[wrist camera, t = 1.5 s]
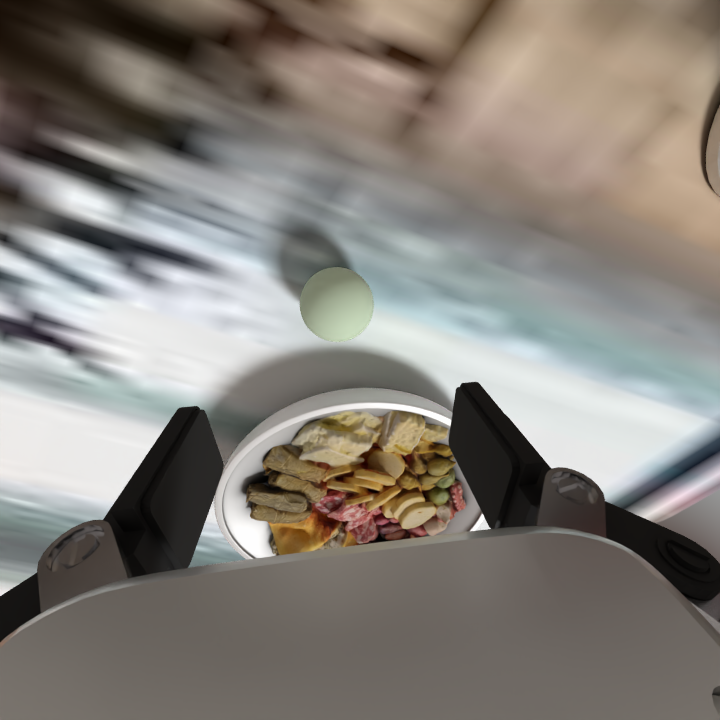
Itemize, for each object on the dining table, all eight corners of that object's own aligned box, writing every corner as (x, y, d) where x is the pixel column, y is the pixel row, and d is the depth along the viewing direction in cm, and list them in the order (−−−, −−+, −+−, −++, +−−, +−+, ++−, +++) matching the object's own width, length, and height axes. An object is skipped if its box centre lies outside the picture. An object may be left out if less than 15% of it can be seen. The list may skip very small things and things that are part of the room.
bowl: (169, 467, 34) (129, 538, 27) (396, 314, 27) (419, 355, 20) (333, 569, 47) (334, 634, 40) (511, 483, 41) (548, 542, 34)
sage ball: (368, 258, 24) (378, 275, 19) (369, 323, 27) (378, 352, 22) (298, 262, 24) (291, 279, 19) (306, 327, 27) (301, 357, 22)
